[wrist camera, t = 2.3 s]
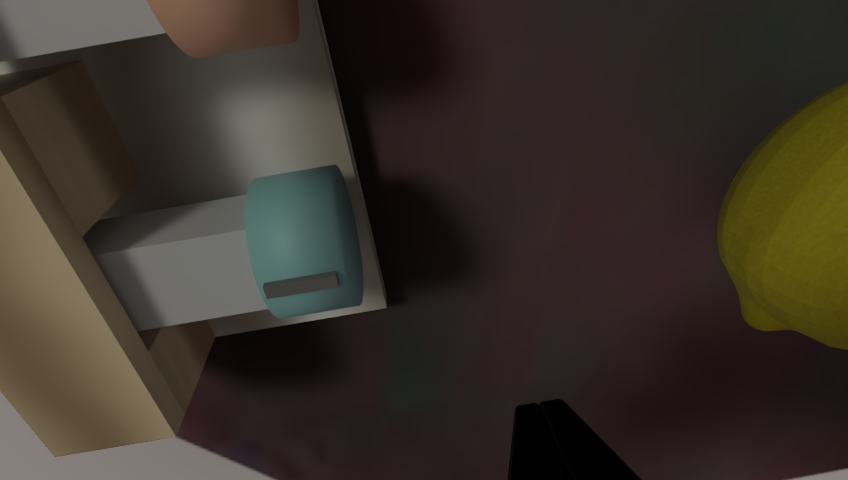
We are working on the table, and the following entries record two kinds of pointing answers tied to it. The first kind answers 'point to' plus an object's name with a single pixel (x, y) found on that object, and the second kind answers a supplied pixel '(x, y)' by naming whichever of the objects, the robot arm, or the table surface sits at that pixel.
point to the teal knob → (237, 253)
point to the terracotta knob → (145, 24)
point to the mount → (135, 193)
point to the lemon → (793, 224)
